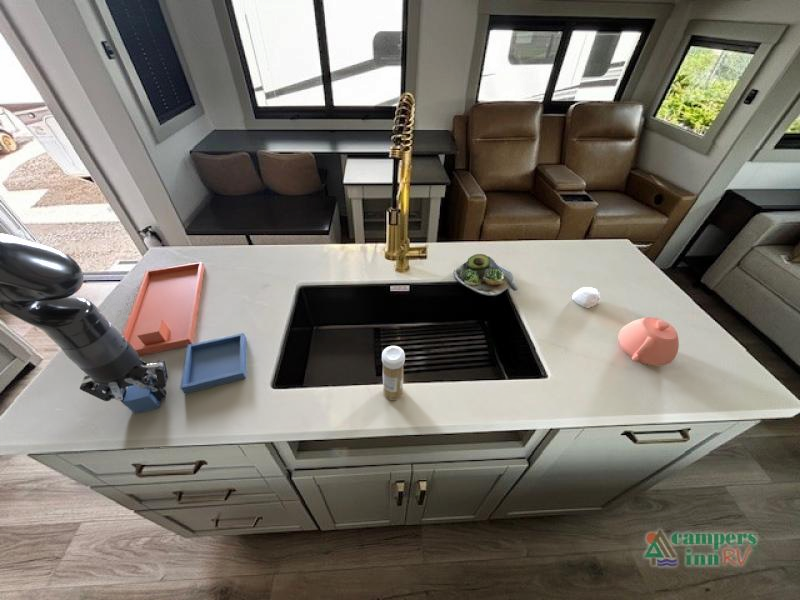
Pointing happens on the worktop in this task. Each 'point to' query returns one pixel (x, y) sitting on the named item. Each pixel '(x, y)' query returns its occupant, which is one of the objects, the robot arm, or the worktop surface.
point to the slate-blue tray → (214, 363)
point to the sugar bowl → (649, 341)
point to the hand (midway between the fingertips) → (148, 400)
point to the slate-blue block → (140, 399)
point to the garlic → (587, 297)
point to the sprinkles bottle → (393, 372)
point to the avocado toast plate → (484, 276)
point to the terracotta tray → (167, 306)
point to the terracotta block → (153, 332)
